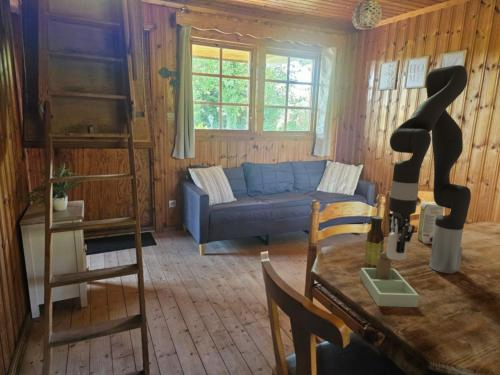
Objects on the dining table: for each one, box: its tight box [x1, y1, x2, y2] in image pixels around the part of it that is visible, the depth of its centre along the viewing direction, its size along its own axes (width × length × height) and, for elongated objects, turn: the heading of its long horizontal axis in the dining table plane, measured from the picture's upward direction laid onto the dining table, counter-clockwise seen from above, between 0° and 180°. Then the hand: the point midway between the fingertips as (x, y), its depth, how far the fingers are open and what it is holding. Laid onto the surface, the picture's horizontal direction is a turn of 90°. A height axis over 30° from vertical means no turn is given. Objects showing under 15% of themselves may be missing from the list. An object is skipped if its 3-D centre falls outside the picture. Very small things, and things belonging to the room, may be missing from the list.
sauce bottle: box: [364, 215, 385, 268], centre depth 124 cm, size 7×6×20 cm
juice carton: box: [416, 200, 445, 245], centre depth 152 cm, size 8×9×19 cm
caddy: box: [359, 251, 420, 308], centre depth 107 cm, size 12×18×12 cm, turn 179°
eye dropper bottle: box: [386, 225, 409, 261], centre depth 100 cm, size 4×6×12 cm
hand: (397, 249), depth 100 cm, fingers closed on eye dropper bottle, 3 cm apart
